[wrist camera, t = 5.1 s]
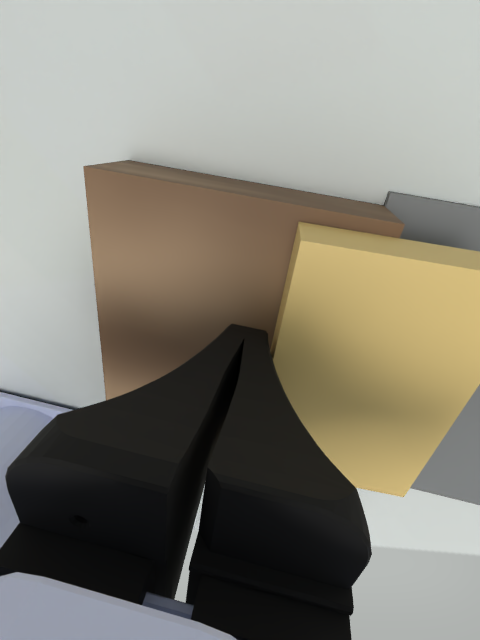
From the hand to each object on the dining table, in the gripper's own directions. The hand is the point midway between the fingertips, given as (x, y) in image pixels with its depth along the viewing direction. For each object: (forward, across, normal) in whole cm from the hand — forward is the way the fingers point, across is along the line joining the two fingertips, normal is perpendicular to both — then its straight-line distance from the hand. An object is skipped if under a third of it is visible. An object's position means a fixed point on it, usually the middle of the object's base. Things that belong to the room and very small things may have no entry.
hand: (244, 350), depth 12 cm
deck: (+4, +1, +2) cm, 5 cm away
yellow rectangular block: (+1, -4, 0) cm, 4 cm away
